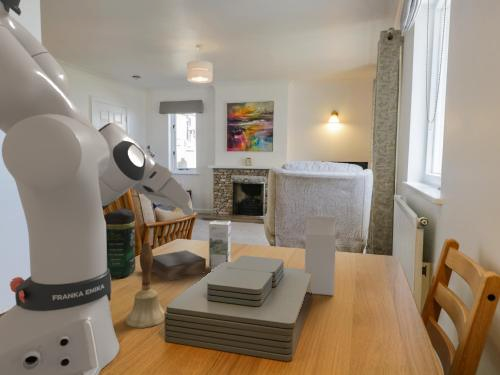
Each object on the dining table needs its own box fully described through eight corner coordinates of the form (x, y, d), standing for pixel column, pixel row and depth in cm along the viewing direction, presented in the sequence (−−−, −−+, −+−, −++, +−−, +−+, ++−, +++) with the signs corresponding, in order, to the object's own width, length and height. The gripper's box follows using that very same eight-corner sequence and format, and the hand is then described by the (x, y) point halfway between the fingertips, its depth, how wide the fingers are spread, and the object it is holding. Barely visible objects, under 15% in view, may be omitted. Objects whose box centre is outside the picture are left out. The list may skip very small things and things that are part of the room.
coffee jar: (129, 278, 95) (128, 211, 94) (100, 279, 95) (98, 211, 93) (139, 267, 105) (137, 207, 103) (112, 268, 104) (110, 207, 103)
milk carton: (333, 296, 84) (336, 218, 83) (304, 293, 86) (306, 217, 84) (332, 285, 91) (334, 214, 90) (305, 283, 92) (307, 213, 91)
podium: (167, 280, 94) (167, 266, 93) (150, 269, 103) (149, 256, 103) (205, 272, 101) (205, 258, 101) (186, 262, 110) (186, 250, 110)
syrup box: (231, 266, 107) (231, 220, 106) (227, 272, 101) (228, 223, 100) (212, 265, 107) (212, 219, 106) (208, 271, 101) (208, 223, 100)
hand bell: (127, 312, 74) (126, 239, 73) (167, 308, 76) (166, 237, 75) (123, 330, 66) (121, 248, 65) (167, 325, 68) (166, 246, 67)
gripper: (123, 183, 95) (158, 215, 102) (154, 188, 79) (192, 226, 86) (139, 167, 97) (171, 199, 104) (172, 169, 82) (208, 206, 89)
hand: (181, 211), depth 95 cm, fingers open, 8 cm apart
